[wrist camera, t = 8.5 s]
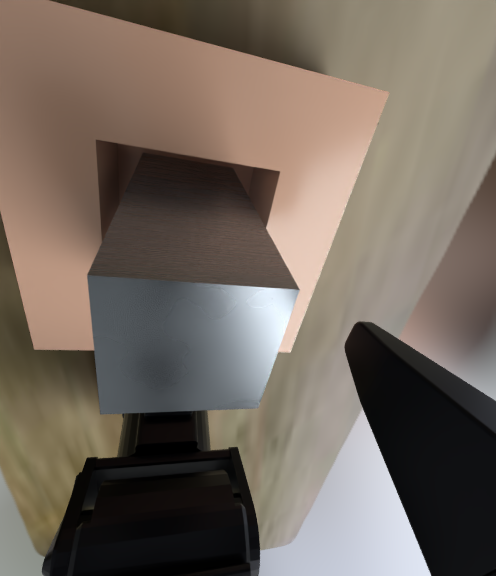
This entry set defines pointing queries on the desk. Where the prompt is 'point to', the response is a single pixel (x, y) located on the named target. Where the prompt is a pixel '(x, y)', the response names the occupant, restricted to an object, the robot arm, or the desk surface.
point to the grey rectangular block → (186, 293)
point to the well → (158, 147)
